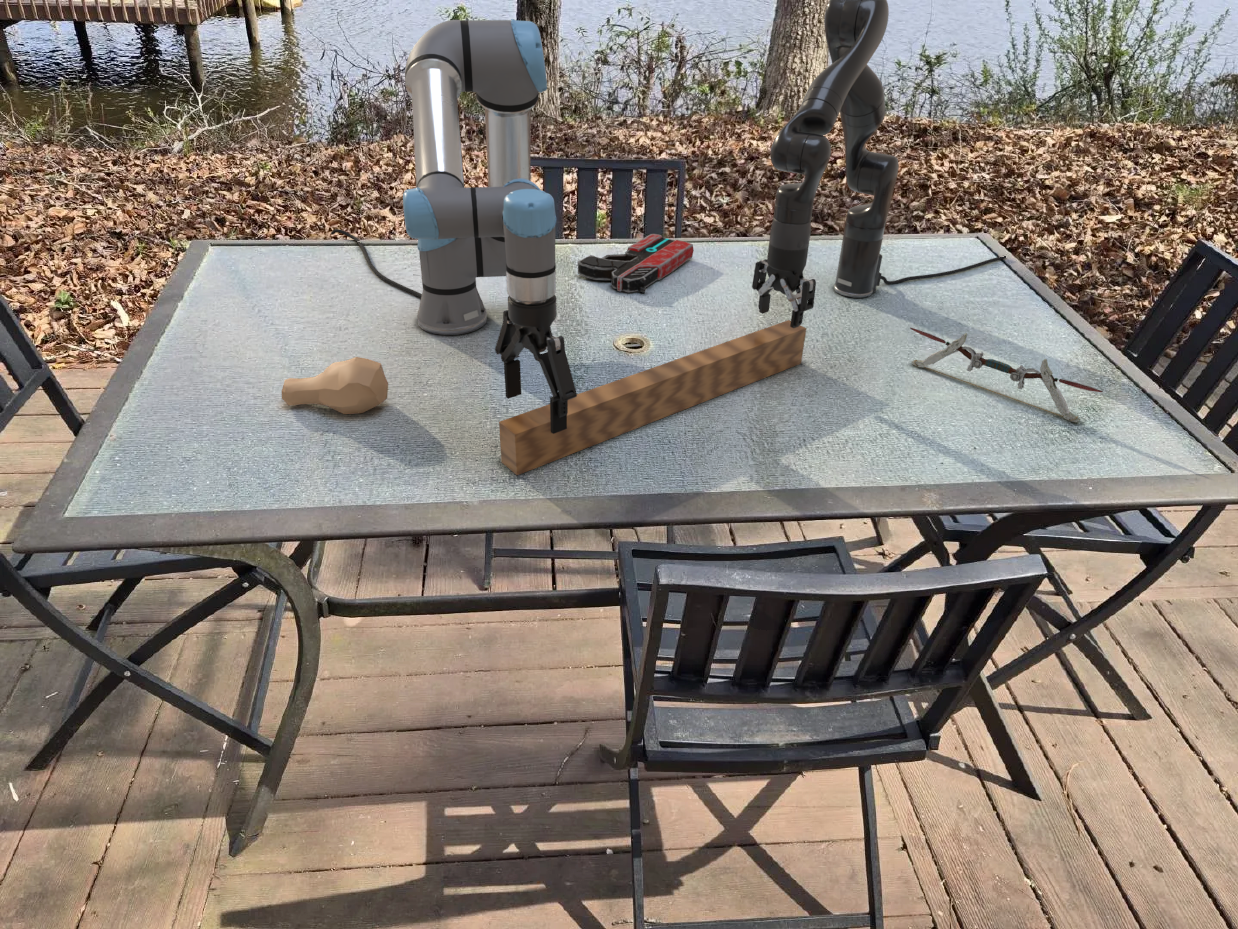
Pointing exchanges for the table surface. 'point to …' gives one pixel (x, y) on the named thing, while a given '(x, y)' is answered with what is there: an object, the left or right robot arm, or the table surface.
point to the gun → (638, 263)
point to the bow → (1015, 375)
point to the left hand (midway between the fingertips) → (535, 412)
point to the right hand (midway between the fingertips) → (779, 319)
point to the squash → (341, 387)
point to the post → (649, 396)
